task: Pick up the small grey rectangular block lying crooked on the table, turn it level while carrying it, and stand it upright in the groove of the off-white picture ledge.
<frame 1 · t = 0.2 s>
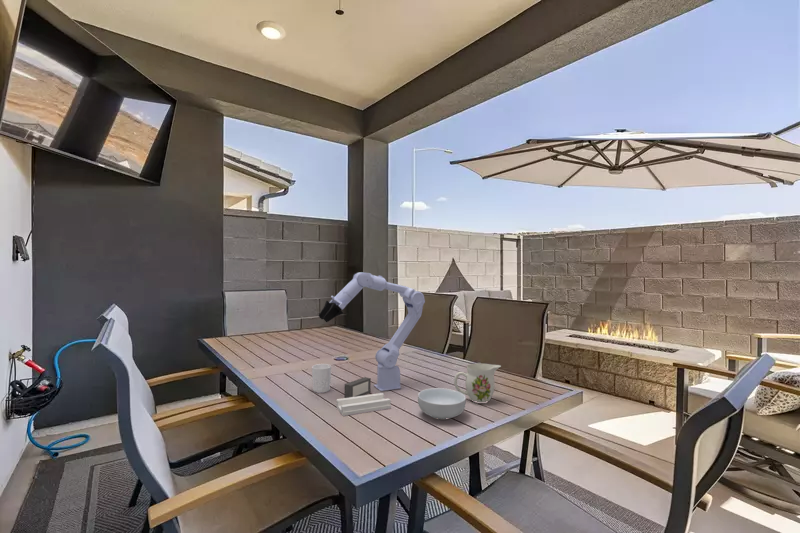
hand: (322, 319, 150), 31 cm above the table, tool tilted 45°, fingers open, 7 cm apart
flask: (478, 388, 163), on the table
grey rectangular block: (357, 396, 151), on the table
white cup: (321, 390, 158), on the table
pitcher: (477, 401, 147), on the table
cereal bowl: (441, 415, 133), on the table
ledge: (363, 407, 139), on the table
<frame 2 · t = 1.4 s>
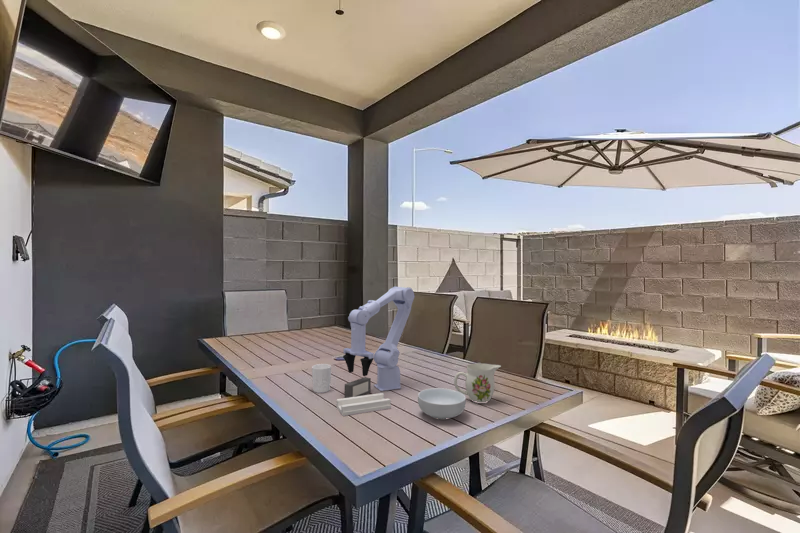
hand: (358, 373, 151), 9 cm above the table, tool pointing down, fingers open, 7 cm apart
nothing on the table moved.
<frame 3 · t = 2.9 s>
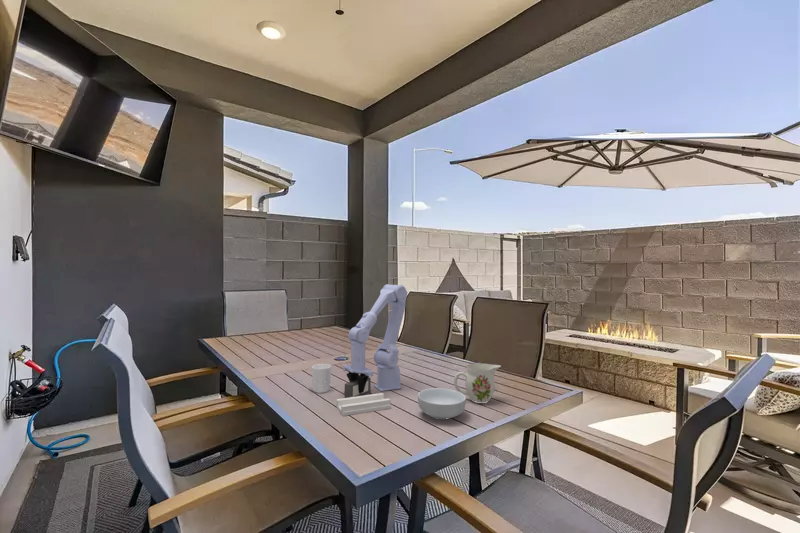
hand: (357, 391, 151), 2 cm above the table, tool pointing down, fingers closed on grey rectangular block, 3 cm apart
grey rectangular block: (357, 395, 151), on the table, touching gripper
everything else where it was.
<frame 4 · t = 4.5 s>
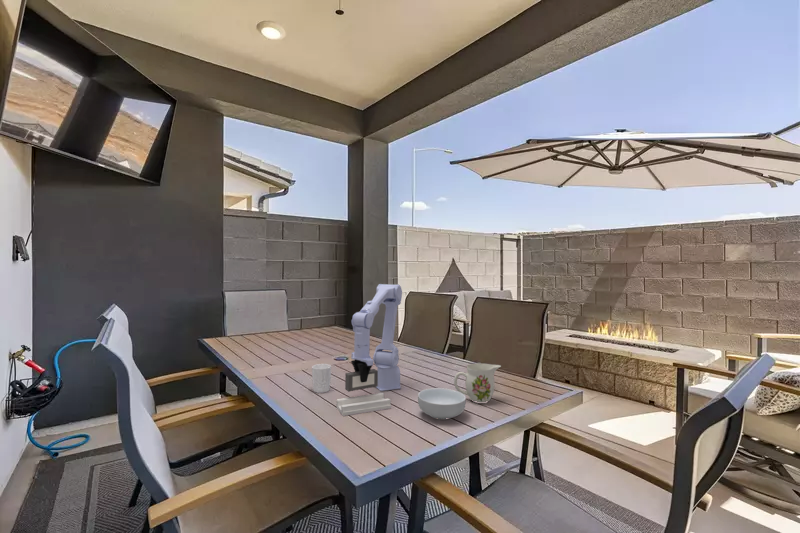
hand: (361, 380, 142), 9 cm above the table, tool pointing down, fingers closed on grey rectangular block, 3 cm apart
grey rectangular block: (361, 387, 142), point 6 cm above the table, touching gripper
everything else where it was.
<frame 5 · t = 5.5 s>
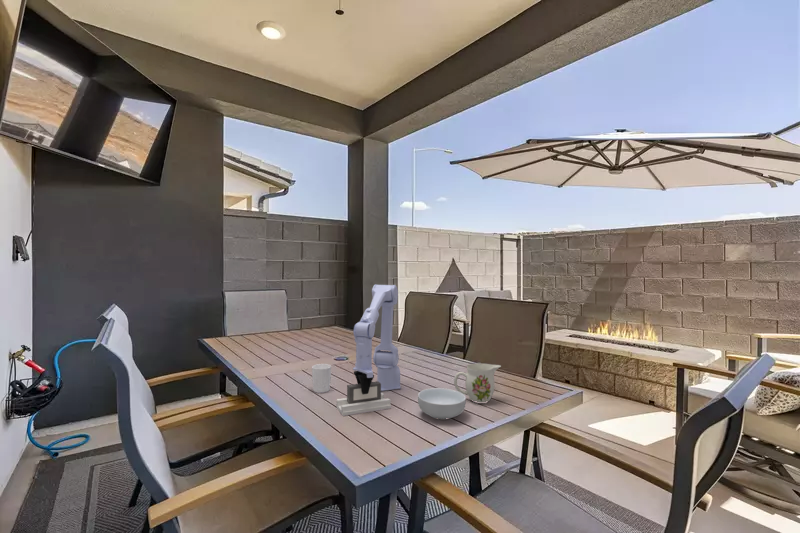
hand: (363, 392, 139), 6 cm above the table, tool pointing down, fingers closed on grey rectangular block, 3 cm apart
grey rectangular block: (364, 400, 139), point 3 cm above the table, touching gripper
everything else where it was.
when the fingers open (4 cm above the table, at t = 6.1 s): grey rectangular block stays where it is, resting on ledge.
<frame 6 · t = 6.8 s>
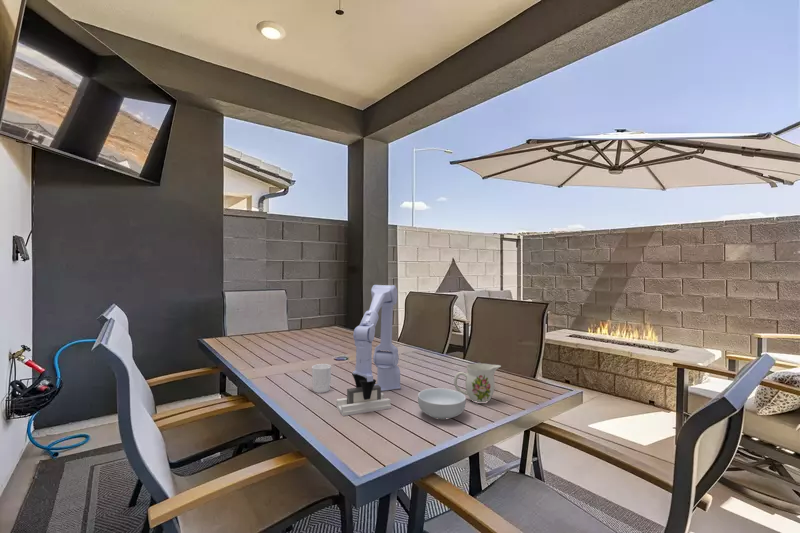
hand: (363, 395, 139), 4 cm above the table, tool pointing down, fingers open, 7 cm apart
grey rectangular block: (364, 404, 139), point 1 cm above the table, touching ledge
everything else where it was.
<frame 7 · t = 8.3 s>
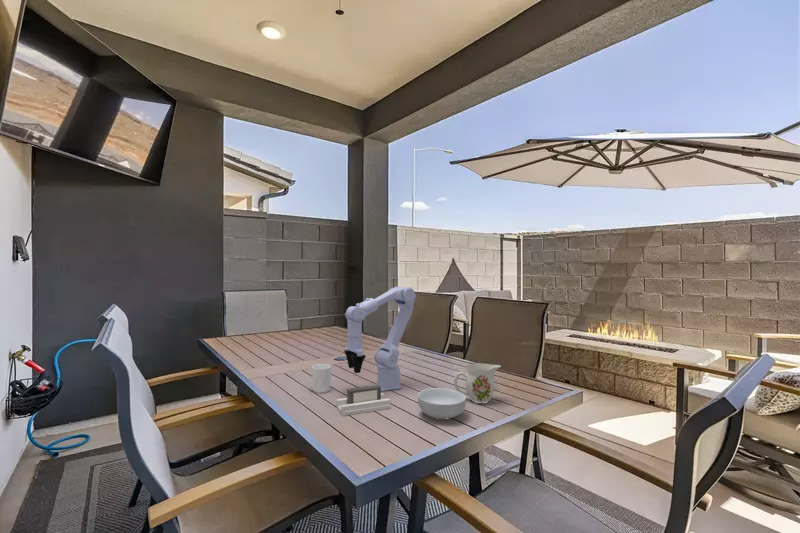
hand: (354, 370, 153), 10 cm above the table, tool pointing down, fingers open, 7 cm apart
nothing on the table moved.
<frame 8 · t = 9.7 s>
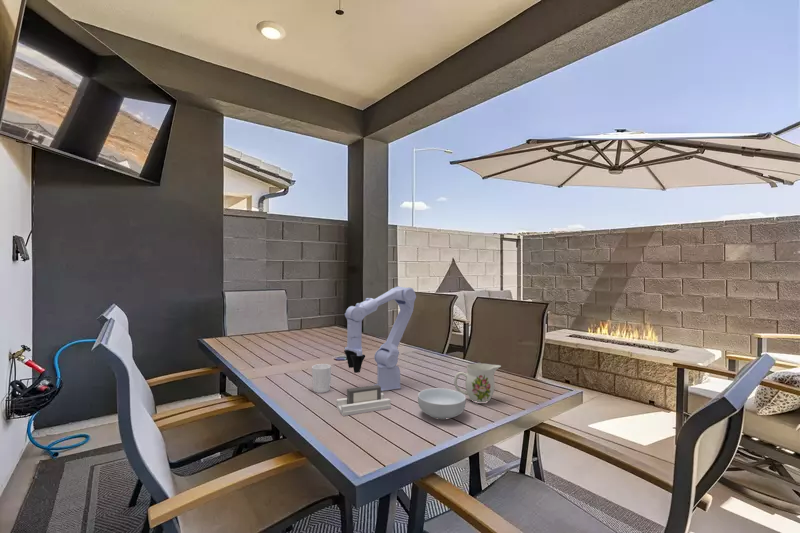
hand: (354, 369, 153), 10 cm above the table, tool pointing down, fingers open, 7 cm apart
nothing on the table moved.
at the end: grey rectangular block 0.2 cm off-centre on the ledge, point 1.2 cm above the ledge's base; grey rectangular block tilted 0°; the gripper is holding nothing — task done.
